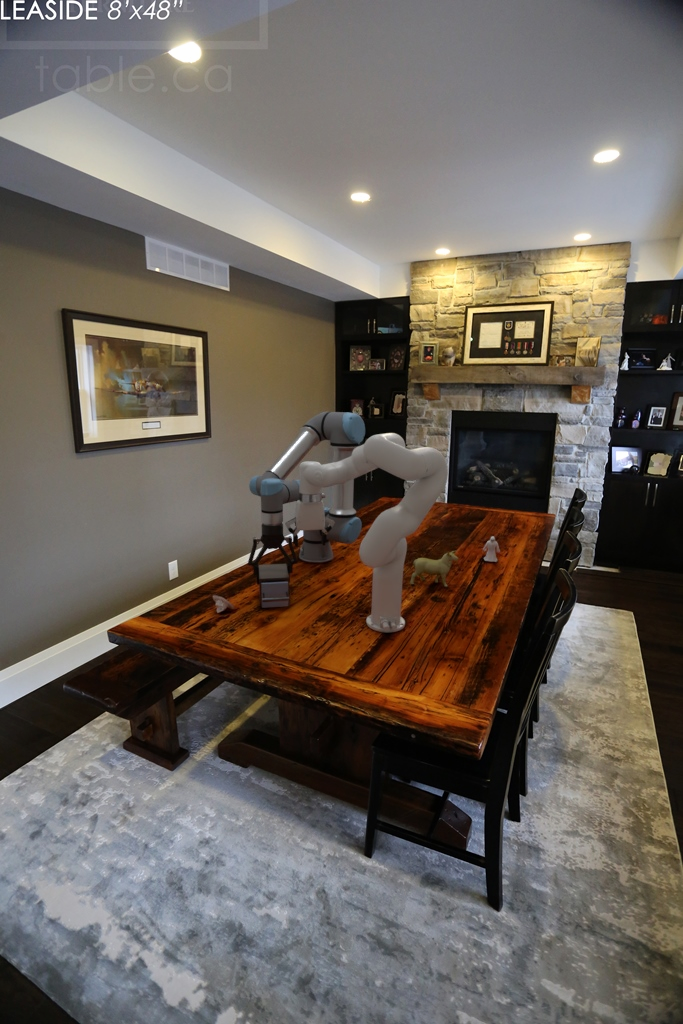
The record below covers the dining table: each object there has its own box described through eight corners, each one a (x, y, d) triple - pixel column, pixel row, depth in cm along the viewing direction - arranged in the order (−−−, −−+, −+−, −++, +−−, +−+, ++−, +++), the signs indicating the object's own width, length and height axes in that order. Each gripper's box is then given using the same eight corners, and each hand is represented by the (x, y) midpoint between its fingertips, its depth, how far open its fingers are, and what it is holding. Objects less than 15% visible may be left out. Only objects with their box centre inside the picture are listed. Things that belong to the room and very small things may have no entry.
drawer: (289, 613, 166) (289, 589, 164) (262, 615, 165) (262, 591, 163) (285, 591, 184) (285, 569, 182) (260, 593, 182) (260, 570, 180)
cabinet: (289, 605, 175) (289, 577, 172) (260, 607, 173) (259, 578, 170) (286, 590, 188) (286, 563, 185) (259, 591, 186) (258, 564, 183)
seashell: (218, 620, 170) (203, 603, 170) (229, 610, 174) (214, 593, 173) (227, 616, 164) (211, 598, 164) (238, 606, 168) (222, 587, 167)
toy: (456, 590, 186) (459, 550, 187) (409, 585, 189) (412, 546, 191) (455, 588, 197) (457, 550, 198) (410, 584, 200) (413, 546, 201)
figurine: (481, 562, 222) (483, 536, 219) (482, 556, 230) (484, 531, 227) (499, 564, 220) (501, 538, 217) (499, 558, 228) (501, 533, 225)
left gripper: (303, 519, 181) (303, 576, 187) (239, 521, 177) (241, 580, 182) (305, 524, 174) (305, 584, 179) (239, 527, 170) (241, 587, 175)
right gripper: (332, 494, 177) (331, 540, 182) (283, 496, 173) (283, 543, 177) (337, 499, 170) (336, 547, 174) (286, 500, 166) (286, 549, 170)
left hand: (273, 582), depth 181 cm, fingers closed on cabinet, 10 cm apart
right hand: (309, 545), depth 176 cm, fingers open, 9 cm apart
